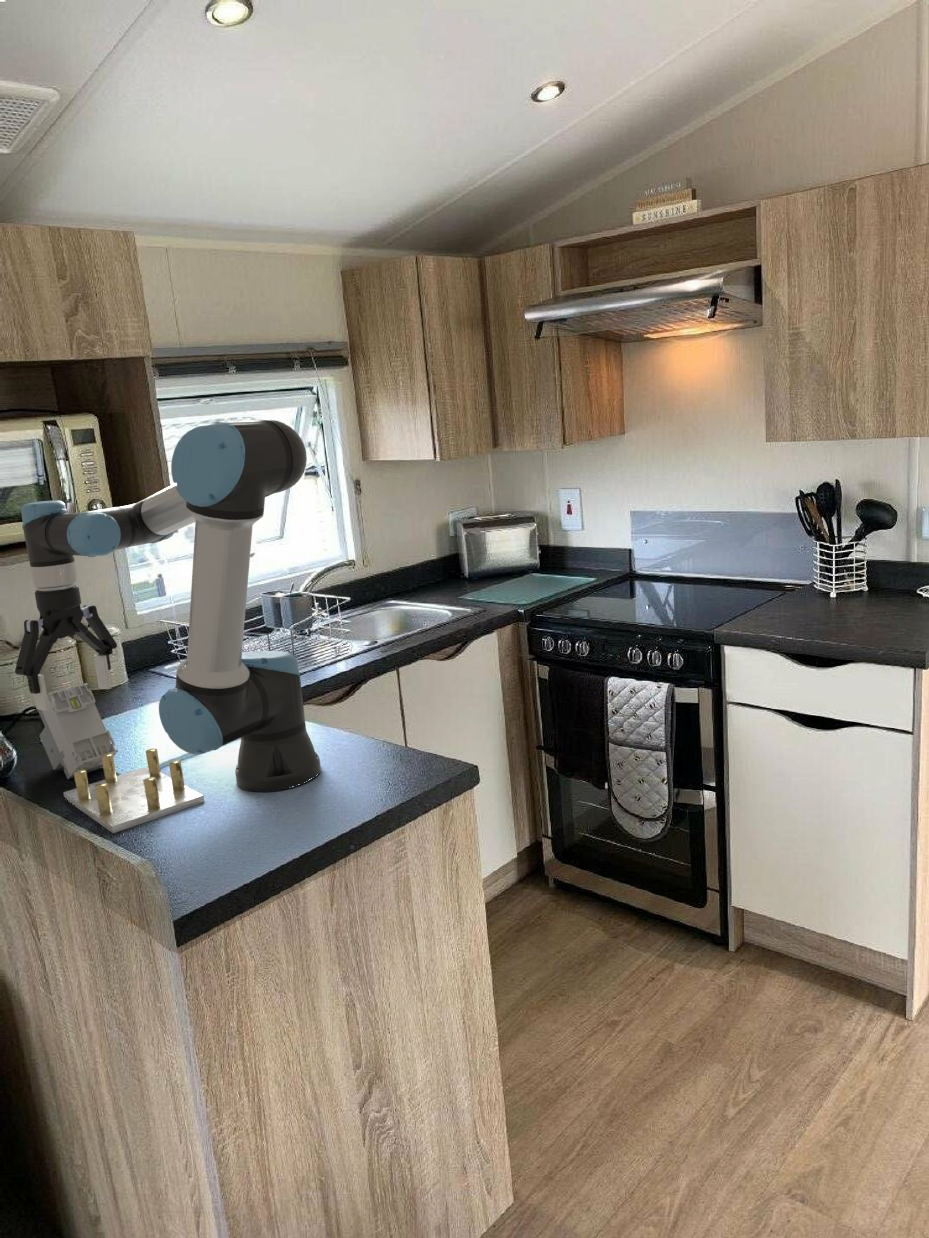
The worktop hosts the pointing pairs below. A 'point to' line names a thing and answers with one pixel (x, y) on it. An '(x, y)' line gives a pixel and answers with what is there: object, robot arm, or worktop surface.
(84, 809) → the mounting plate
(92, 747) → the circuit breaker
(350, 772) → the worktop surface
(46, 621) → the robot arm
